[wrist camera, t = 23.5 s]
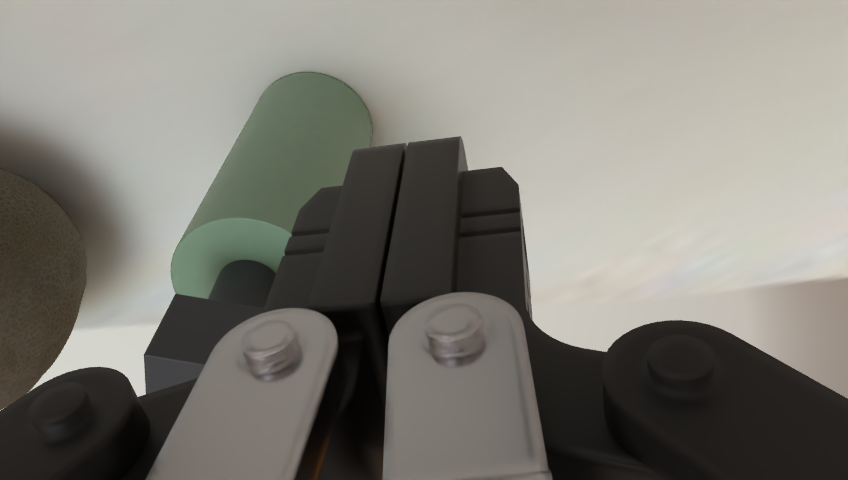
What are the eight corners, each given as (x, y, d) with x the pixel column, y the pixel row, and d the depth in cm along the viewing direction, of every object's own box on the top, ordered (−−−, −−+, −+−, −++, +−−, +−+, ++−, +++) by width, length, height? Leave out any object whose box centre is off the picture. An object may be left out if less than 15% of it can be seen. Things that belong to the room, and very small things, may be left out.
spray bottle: (409, 89, 42) (357, 353, 25) (392, 192, 45) (337, 483, 29) (257, 61, 41) (103, 310, 25) (252, 167, 45) (114, 447, 28)
